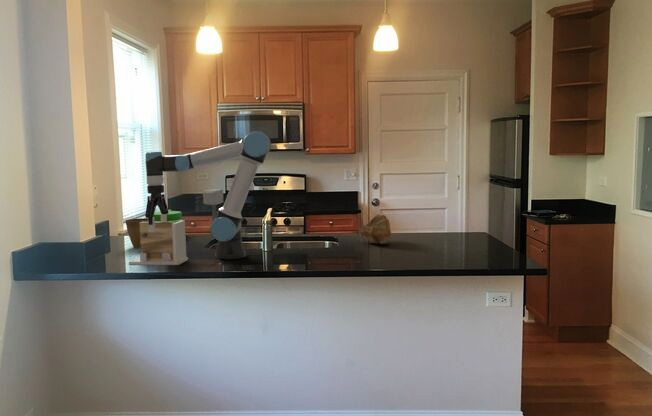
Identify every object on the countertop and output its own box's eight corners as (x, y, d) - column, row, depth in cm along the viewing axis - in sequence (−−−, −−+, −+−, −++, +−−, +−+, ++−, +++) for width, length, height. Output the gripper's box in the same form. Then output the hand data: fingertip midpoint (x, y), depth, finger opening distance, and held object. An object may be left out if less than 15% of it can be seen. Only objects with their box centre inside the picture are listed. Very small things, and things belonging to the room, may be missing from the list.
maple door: (172, 260, 250) (170, 222, 248) (139, 260, 251) (138, 222, 250) (176, 259, 254) (174, 221, 252) (144, 258, 256) (142, 221, 254)
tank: (140, 246, 301) (138, 217, 300) (141, 237, 334) (140, 212, 333) (184, 243, 309) (183, 215, 307) (181, 235, 342) (180, 210, 340)
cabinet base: (178, 264, 246) (176, 223, 244) (129, 264, 249) (126, 223, 247) (187, 259, 258) (186, 220, 256) (140, 259, 261) (138, 220, 259)
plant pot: (161, 247, 297) (159, 218, 295) (140, 251, 284) (139, 221, 282) (141, 245, 304) (140, 217, 302) (120, 249, 291) (119, 220, 289)
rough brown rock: (357, 239, 313) (357, 214, 312) (386, 238, 314) (385, 213, 313) (362, 246, 290) (362, 218, 289) (392, 245, 291) (392, 218, 289)
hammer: (216, 242, 310) (215, 190, 307) (204, 242, 311) (202, 190, 308) (225, 238, 325) (223, 189, 322) (213, 238, 326) (211, 189, 323)
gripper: (151, 186, 237) (154, 233, 239) (173, 183, 262) (176, 225, 264) (135, 186, 238) (138, 233, 240) (159, 183, 263) (161, 226, 265)
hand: (158, 229), depth 252 cm, fingers open, 13 cm apart
